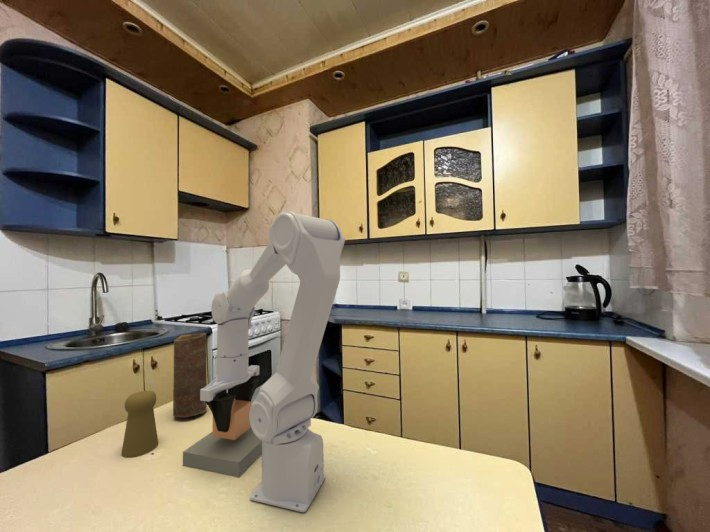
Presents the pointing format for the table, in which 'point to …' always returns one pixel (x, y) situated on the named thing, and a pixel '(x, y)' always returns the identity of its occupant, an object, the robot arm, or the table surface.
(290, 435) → the robot arm
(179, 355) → the candle
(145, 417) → the cork
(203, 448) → the grey square plate
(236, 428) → the terracotta cube
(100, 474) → the table surface
